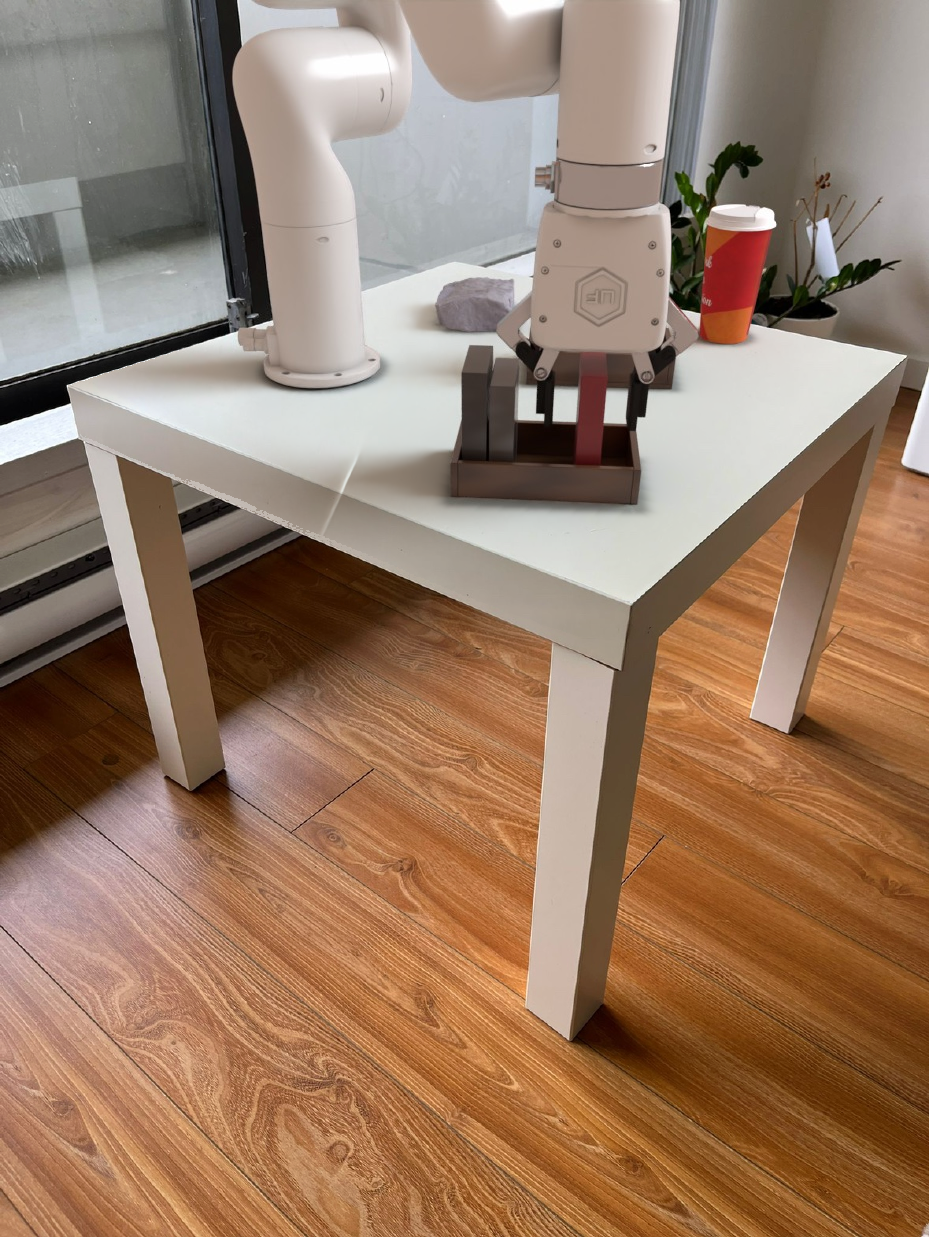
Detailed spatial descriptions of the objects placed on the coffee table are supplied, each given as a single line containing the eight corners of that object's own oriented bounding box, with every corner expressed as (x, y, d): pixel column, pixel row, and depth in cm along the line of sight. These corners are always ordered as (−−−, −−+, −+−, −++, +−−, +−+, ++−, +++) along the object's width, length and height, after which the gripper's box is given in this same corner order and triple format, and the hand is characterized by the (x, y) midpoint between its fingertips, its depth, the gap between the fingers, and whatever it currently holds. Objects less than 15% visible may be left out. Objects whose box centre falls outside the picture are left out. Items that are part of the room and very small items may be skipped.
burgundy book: (573, 493, 77) (581, 376, 71) (573, 460, 82) (581, 348, 77) (597, 494, 77) (607, 377, 71) (596, 460, 82) (605, 348, 76)
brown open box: (525, 384, 99) (529, 282, 93) (529, 354, 106) (533, 258, 100) (671, 389, 97) (685, 286, 91) (665, 358, 105) (676, 261, 99)
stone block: (439, 345, 114) (520, 329, 113) (430, 306, 111) (513, 289, 110) (444, 319, 124) (518, 304, 123) (436, 282, 121) (512, 266, 120)
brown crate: (450, 501, 77) (448, 378, 71) (461, 454, 85) (461, 339, 79) (637, 509, 76) (651, 385, 70) (631, 460, 83) (644, 344, 77)
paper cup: (708, 322, 116) (726, 200, 108) (767, 334, 112) (790, 209, 104) (677, 338, 111) (693, 212, 103) (737, 352, 107) (759, 221, 99)
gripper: (482, 194, 64) (480, 438, 74) (738, 198, 63) (701, 446, 73) (490, 174, 70) (487, 402, 81) (724, 177, 69) (691, 409, 79)
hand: (589, 421), depth 77 cm, fingers open, 6 cm apart
